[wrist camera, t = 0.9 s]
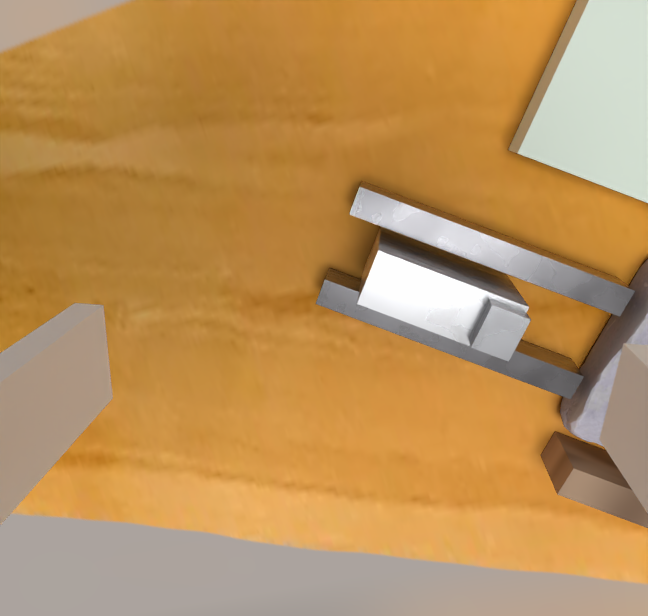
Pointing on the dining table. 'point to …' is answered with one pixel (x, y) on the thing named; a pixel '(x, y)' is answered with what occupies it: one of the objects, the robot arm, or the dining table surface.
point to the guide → (493, 253)
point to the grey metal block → (443, 294)
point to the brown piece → (591, 478)
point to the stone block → (606, 364)
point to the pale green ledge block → (594, 99)
